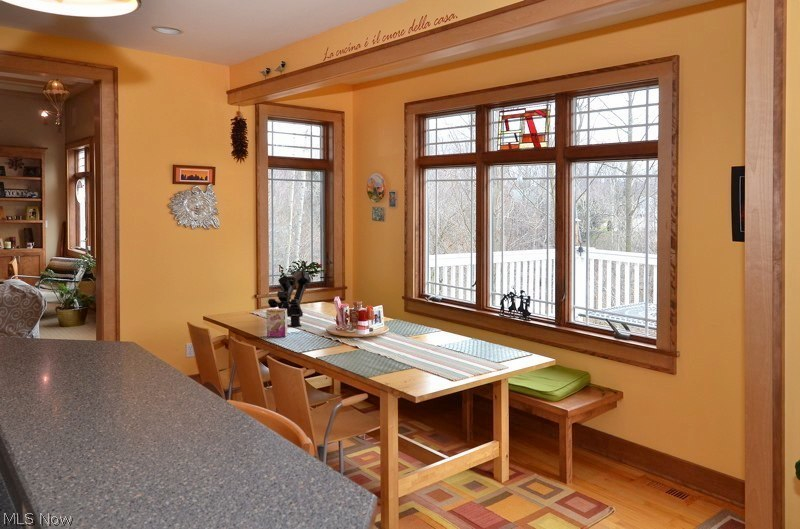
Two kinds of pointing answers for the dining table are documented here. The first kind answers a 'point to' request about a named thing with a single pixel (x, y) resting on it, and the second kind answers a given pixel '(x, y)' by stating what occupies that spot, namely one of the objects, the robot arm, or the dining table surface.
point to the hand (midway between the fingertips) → (280, 314)
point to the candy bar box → (277, 322)
